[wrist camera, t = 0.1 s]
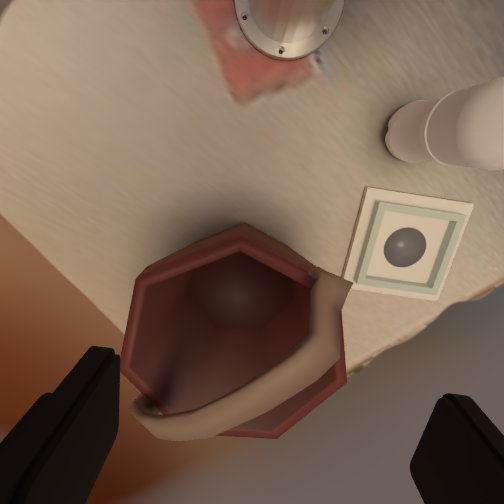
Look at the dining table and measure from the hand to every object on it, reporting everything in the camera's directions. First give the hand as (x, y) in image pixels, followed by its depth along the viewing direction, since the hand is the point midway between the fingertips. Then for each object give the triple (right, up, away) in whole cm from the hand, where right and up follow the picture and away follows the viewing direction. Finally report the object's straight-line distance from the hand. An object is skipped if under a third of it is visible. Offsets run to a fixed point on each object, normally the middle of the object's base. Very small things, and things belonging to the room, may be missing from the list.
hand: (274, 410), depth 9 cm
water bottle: (+20, +20, +32) cm, 43 cm away
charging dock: (+21, +6, +37) cm, 43 cm away
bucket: (-2, 0, +39) cm, 39 cm away
